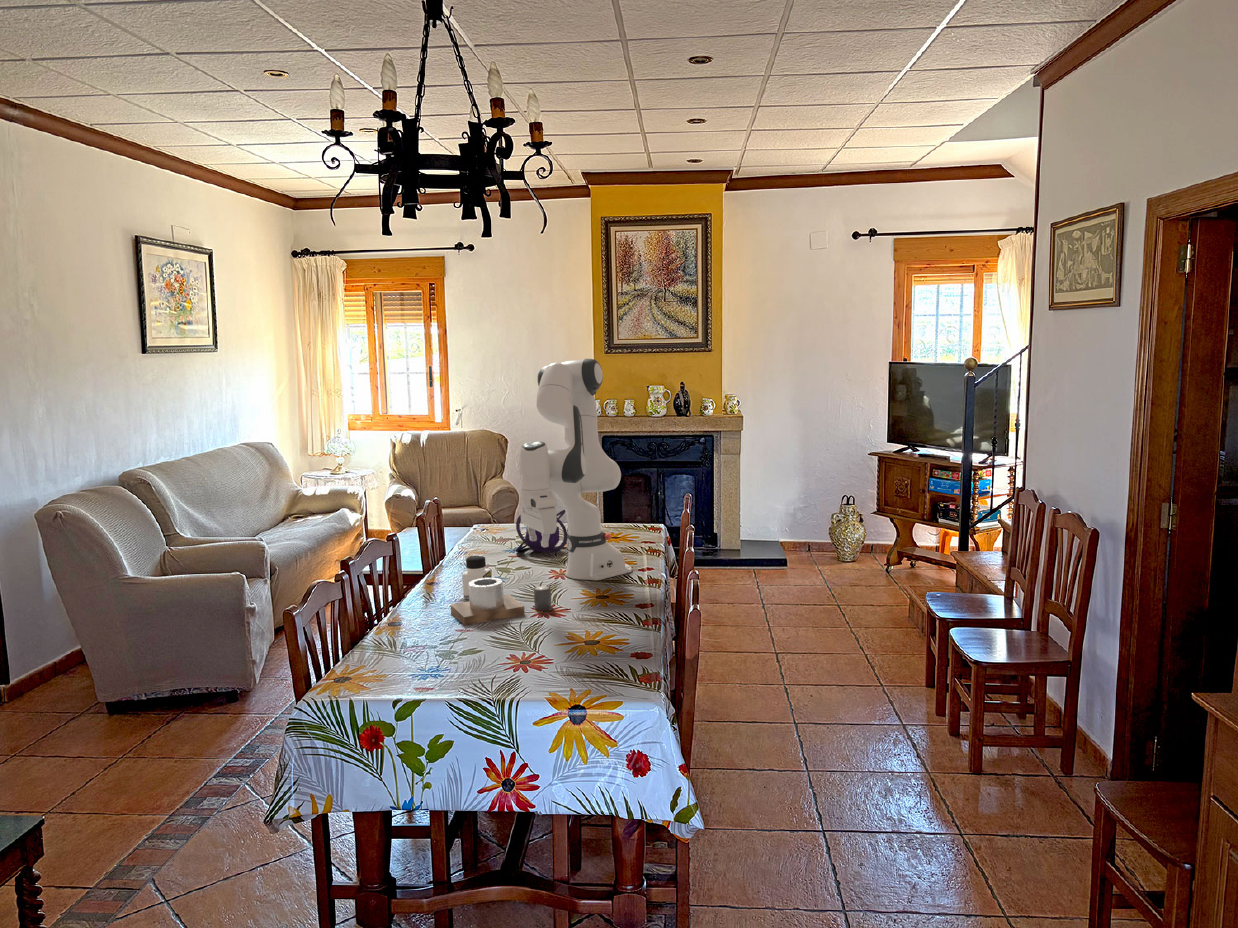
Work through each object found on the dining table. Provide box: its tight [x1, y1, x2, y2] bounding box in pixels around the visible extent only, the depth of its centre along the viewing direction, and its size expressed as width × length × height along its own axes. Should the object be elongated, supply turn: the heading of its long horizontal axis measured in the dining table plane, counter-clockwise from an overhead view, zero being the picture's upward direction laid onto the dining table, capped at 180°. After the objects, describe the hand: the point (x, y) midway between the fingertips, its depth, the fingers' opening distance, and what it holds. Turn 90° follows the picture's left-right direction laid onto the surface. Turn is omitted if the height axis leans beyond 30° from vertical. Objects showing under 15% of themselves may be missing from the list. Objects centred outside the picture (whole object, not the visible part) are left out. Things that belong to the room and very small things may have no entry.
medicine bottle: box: [461, 554, 492, 597], centre depth 280 cm, size 7×7×12 cm
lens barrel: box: [468, 577, 504, 611], centre depth 259 cm, size 10×10×7 cm
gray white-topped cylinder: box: [533, 585, 553, 611], centre depth 263 cm, size 5×5×6 cm
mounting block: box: [450, 594, 526, 627], centre depth 259 cm, size 18×14×2 cm
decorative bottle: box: [515, 509, 568, 554], centre depth 331 cm, size 22×21×25 cm
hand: (539, 543), depth 260 cm, fingers open, 8 cm apart
